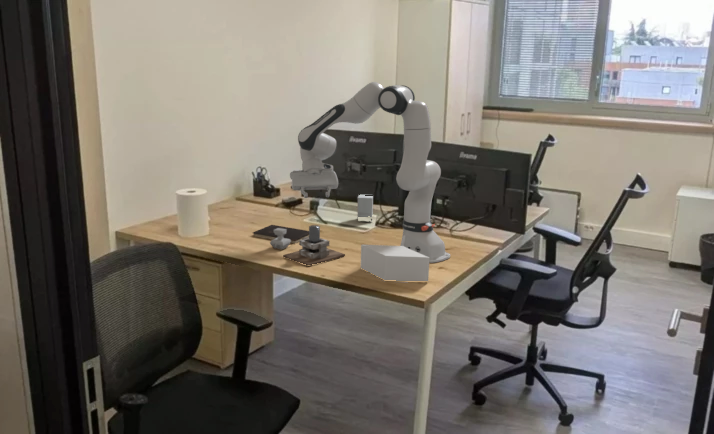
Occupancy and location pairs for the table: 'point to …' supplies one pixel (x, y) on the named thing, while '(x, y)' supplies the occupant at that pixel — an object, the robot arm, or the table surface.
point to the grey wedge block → (394, 263)
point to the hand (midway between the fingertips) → (316, 196)
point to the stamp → (280, 239)
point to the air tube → (314, 236)
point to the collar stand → (313, 258)
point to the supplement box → (365, 206)
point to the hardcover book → (290, 234)
